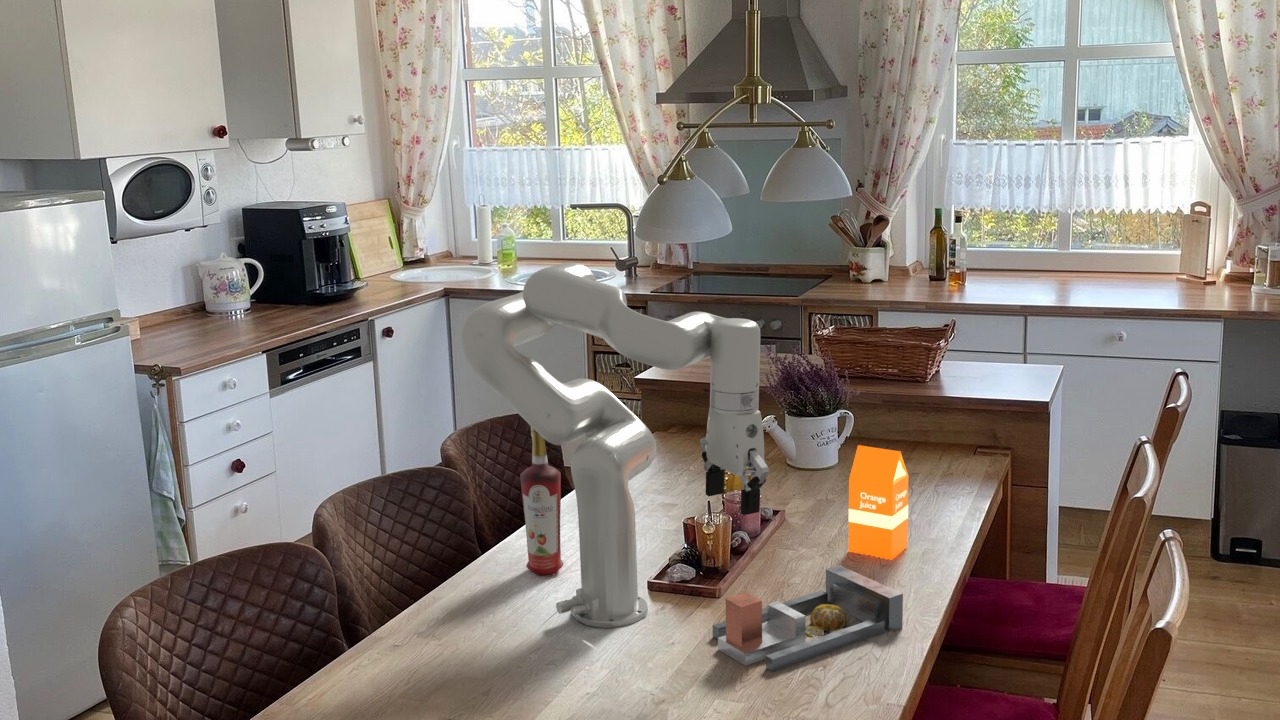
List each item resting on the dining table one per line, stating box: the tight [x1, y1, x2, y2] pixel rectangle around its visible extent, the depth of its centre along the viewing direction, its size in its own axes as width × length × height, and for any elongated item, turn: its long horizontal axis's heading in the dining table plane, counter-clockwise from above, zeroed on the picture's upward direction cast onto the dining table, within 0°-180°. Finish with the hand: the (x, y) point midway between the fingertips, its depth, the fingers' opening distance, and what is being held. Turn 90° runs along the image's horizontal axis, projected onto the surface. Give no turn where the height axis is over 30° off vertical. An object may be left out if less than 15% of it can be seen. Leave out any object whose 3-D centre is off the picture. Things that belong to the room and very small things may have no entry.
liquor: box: [519, 426, 564, 577], centre depth 226 cm, size 7×7×28 cm
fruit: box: [806, 603, 847, 638], centre depth 201 cm, size 8×8×4 cm
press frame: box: [712, 564, 904, 673], centre depth 199 cm, size 27×15×6 cm, turn 123°
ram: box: [717, 592, 807, 667], centre depth 194 cm, size 12×7×9 cm, turn 123°
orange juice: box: [848, 444, 909, 561], centre depth 232 cm, size 8×9×20 cm
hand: (732, 503), depth 195 cm, fingers open, 9 cm apart
